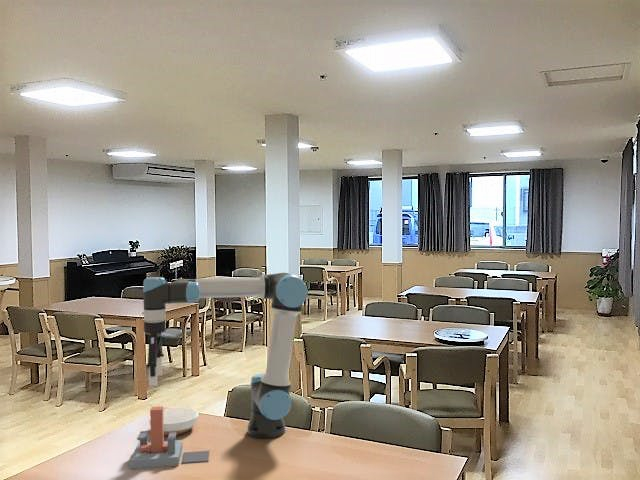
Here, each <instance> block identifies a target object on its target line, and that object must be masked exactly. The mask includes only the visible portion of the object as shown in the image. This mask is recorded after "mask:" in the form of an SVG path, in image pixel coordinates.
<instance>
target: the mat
mask: <svg viewBox="0 0 640 480" xmlns="http://www.w3.org/2000/svg"><path fill="white" fill-rule="evenodd" d="M209 458H210V450H201V451H198V450H197V451H187V452H186V451H185V452H183V456H182V460H181V464H183V465H184V464H194V463H206V462H209Z"/></svg>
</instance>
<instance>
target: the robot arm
mask: <svg viewBox="0 0 640 480" xmlns="http://www.w3.org/2000/svg"><path fill="white" fill-rule="evenodd" d="M142 287H143V288H142V289H143V290H142V294H143V297H142V298H143V311H142V312H141V314H142V315H143V321H144V322H143V331H144V333H145V334H150V336H149V337H148V356H147V364H146V365H145V367H146V368H148V386H149V387H151V386H158V377H159V376H163V358H164V357H165V353H163V344H162V343H163V342H162V333H165V332H166V330H167V325H166V324H167V322H166V319H167V312H166V311H167V309H166V305H167V304H169V305H170V304H191V303H198V302H199V300H200V299H216V298H217V299H218V298H219V299H220V298H223V299H224V298H250V297H253V298H254V297H256V298H257V297H259V298H260V299H262V300H265V299H266V300H271V307H270V308H271V310H272V311H273V314H274V315H273V320H272V321H273V322H272V328H271V334H270V341H269V348H268V357H267V363H266V367H265V373H261V374H256V375H255V374H254V375H253V376H252V377H251V381H250V385H251V386H250V388H251V390H250V392H251V393H250V394H251V396H250V397H251V400H250V401H251V415H250V418H249V421H248V425H247V434H248V436H250V437H253V438H257V439H271V438H277V437H280V436H283V434H285V433H286V424H285V421H284V417H285V416H287V415H288V413H290V411H291V407H292V399H291V398H292V397H291V396H290V393H291V387H292V382H291V381H290V379H289V373H290V365H291V358H292V353H293V352H292V351H293V344H294V337H295V329H296V325H297V319H298V318H297V317H298V315H299V314H301V313H302V312H303V311H302V310H303V303H305V301H306V299H307V297H308V286H307V284H306V282H305V281H304V280H303V279H302V278H301V277H300V276H299V275H295V274H292V273H288V272H278V273H272V274H271V273H270V274H260V276H259V277H223V278H221V277H218V278H215V277H214V278H212V277H211V278H177V279H175V280H174V281H173V282H167V281H166V279H165V277H162V276H156V277H155V276H153V277H151V276H150V277H146V278H145V279H143V286H142Z"/></svg>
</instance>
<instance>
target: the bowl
mask: <svg viewBox="0 0 640 480" xmlns="http://www.w3.org/2000/svg"><path fill="white" fill-rule="evenodd" d="M198 419H199V412H198V410H196V409H193V408H188V407H174V408H167V409H166V408H165V409H163V421H164V436H169V433H173V432H176V436H177V435H182V434H184V433H186V432H188V431H189V430H191V429H192V428H193V427H194V426H195V425H197V422H198ZM148 421H149V424H150V416H148Z"/></svg>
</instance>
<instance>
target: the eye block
mask: <svg viewBox="0 0 640 480" xmlns="http://www.w3.org/2000/svg"><path fill="white" fill-rule="evenodd" d="M148 436H149V435H148V430H142V431H140V432H139V434H138V436H137V441H139V442H138V443H137V444H136V446H135V449H134V451H133V454H132V456H131V458H130V470H136V469H137V470H138V469H150V468H153V469H154V468H162V467H163V468H164V467H176V466H180V461H181V458H182V457H181V456H182V452H183V447H184V446H183V440H182V439H176V437H177V435H176V432H173V433H169V435H167V436H168V437H167V440H164V444H168V450H164V453H154V454H151V451H143V452H140V447H141V445H151V441H150V442H149V440H148V439H149V437H148Z"/></svg>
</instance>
